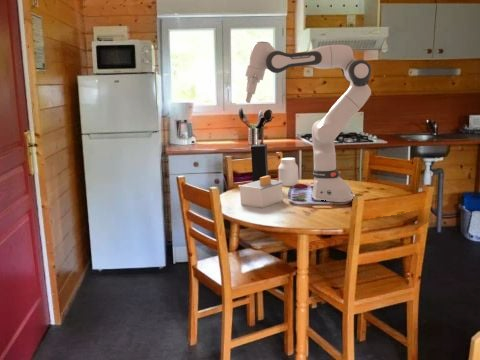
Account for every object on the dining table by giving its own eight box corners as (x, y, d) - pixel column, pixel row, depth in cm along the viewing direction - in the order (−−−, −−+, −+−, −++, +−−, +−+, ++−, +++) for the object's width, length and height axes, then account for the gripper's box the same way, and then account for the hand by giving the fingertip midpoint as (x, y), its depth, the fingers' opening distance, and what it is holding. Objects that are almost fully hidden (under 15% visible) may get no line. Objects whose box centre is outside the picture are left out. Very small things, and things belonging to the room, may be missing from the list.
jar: (291, 186, 272) (290, 160, 269) (276, 185, 278) (275, 159, 275) (300, 182, 281) (300, 157, 278) (286, 181, 287) (285, 156, 284)
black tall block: (266, 189, 268) (264, 140, 262) (253, 189, 269) (250, 140, 264) (268, 186, 275) (266, 138, 270) (255, 186, 277) (252, 138, 271)
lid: (282, 183, 239) (281, 174, 238) (261, 189, 227) (260, 180, 227) (260, 180, 248) (260, 172, 247) (239, 186, 237) (239, 177, 236)
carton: (284, 200, 241) (283, 181, 239) (260, 208, 228) (259, 188, 226) (262, 197, 251) (262, 178, 249) (239, 204, 238) (238, 185, 236)
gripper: (262, 76, 224) (254, 105, 227) (259, 76, 244) (253, 102, 247) (249, 72, 224) (241, 101, 227) (247, 73, 244) (241, 99, 247)
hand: (247, 102), depth 237 cm, fingers open, 8 cm apart
